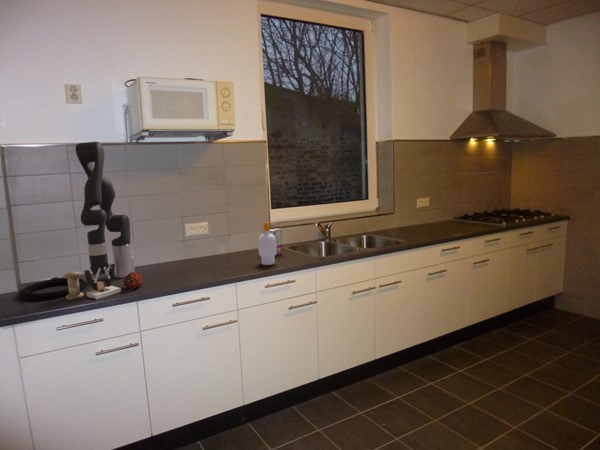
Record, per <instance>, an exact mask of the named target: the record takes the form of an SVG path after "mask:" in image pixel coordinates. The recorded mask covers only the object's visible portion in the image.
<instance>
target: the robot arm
mask: <svg viewBox="0 0 600 450" xmlns="http://www.w3.org/2000/svg"><path fill="white" fill-rule="evenodd" d="M75 153H76V157H77V159H78V161H79V163H80V165H81V167H82V169H83V170H84V172H85V175H86V177H87V179H86V182H85V183H84V184H85V185H84V190H83V191H84V192H83V193H84V196H83V197H84V203H83V207H82V211H81V214H80V223H81V224H82V225H83V226H87V227H89V226H91V227H92V226H98V227H97V228H96V229H92V230H90V231H88V232H87V236H86V237H87V245H88V249H87V250H88V258H89V264H90V266H89V268H88V269H84V270H83V273H84V276H85V279H86V282H87V283H90V284H91V283H92V284H91V288H92V287H93V289H94V290H98V286H97V282H98V278H99V276H102V275H103V276H104V280H105V287H110V286H112V285H111V284H112V283H111V278H112V277H115V278H120V279H121V278H122V279H124V277H125V276H127V275H128V274H129V273H132V272H136V270H135V269H136V268H135V259H134V257H133V255H132V245H131V221H130V218H129V216H128V215H127V214H114V213H113V212H112V205H113V203H114V201H115V198H116V192H115V191H116V190H115V189H114V186H113V183H112V182H111V180H110V179H109V178H108V177H107V176H106V175H104V164H105V149H104V145H102V143H101V142H99V141H88V142H87V141H86V142H79V143H77V144H76V145H75ZM93 163H94V164H93ZM97 206H99V208H100V209H92V208H93V207H97ZM105 229H107V230H108V232H110V233H120V235H119V236H118V237H115V238H114V239H111V251H112V258H113V259H112V260H113V263H109V257H108V248H107V244H106V237H105V234H106V232H105Z"/></svg>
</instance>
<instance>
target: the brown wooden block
mask: <svg viewBox="0 0 600 450" xmlns="http://www.w3.org/2000/svg"><path fill="white" fill-rule="evenodd" d="M90 284H91V285H92V283H91V282H90ZM97 286H98V290H94V289H93V287H92V286H91V291H97V292H101V293H102V292H105V290H104V288H105V285H104V281H97Z"/></svg>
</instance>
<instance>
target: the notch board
mask: <svg viewBox="0 0 600 450" xmlns="http://www.w3.org/2000/svg"><path fill="white" fill-rule="evenodd" d="M104 290H105V292H102V293H101V292H97V291H93V290H91V291H88V292H86V297H87V298H91V299H93V298H94V300H99V299H102V298H106V297H109V296H111V295H112V296H113V295H115V294H118V293H121V292H122V288H121V287H118V286H114V285H110V287H107V286H104Z"/></svg>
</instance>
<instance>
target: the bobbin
mask: <svg viewBox="0 0 600 450" xmlns="http://www.w3.org/2000/svg"><path fill="white" fill-rule="evenodd" d="M81 275H82V272H81V271H71V272H67V273H64V274H63V278H67V281H68V285H67V288H68V289H69V295H67V296H65V298H66V300H68V301H69V300H71V301H72V300H73V301H74V300H77V299H81V298H83V297H85V296H84V295H85V294H84V292H81V291H80V288H79V279H80V278H79V277H80V276H81ZM78 278H79V279H78Z"/></svg>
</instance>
